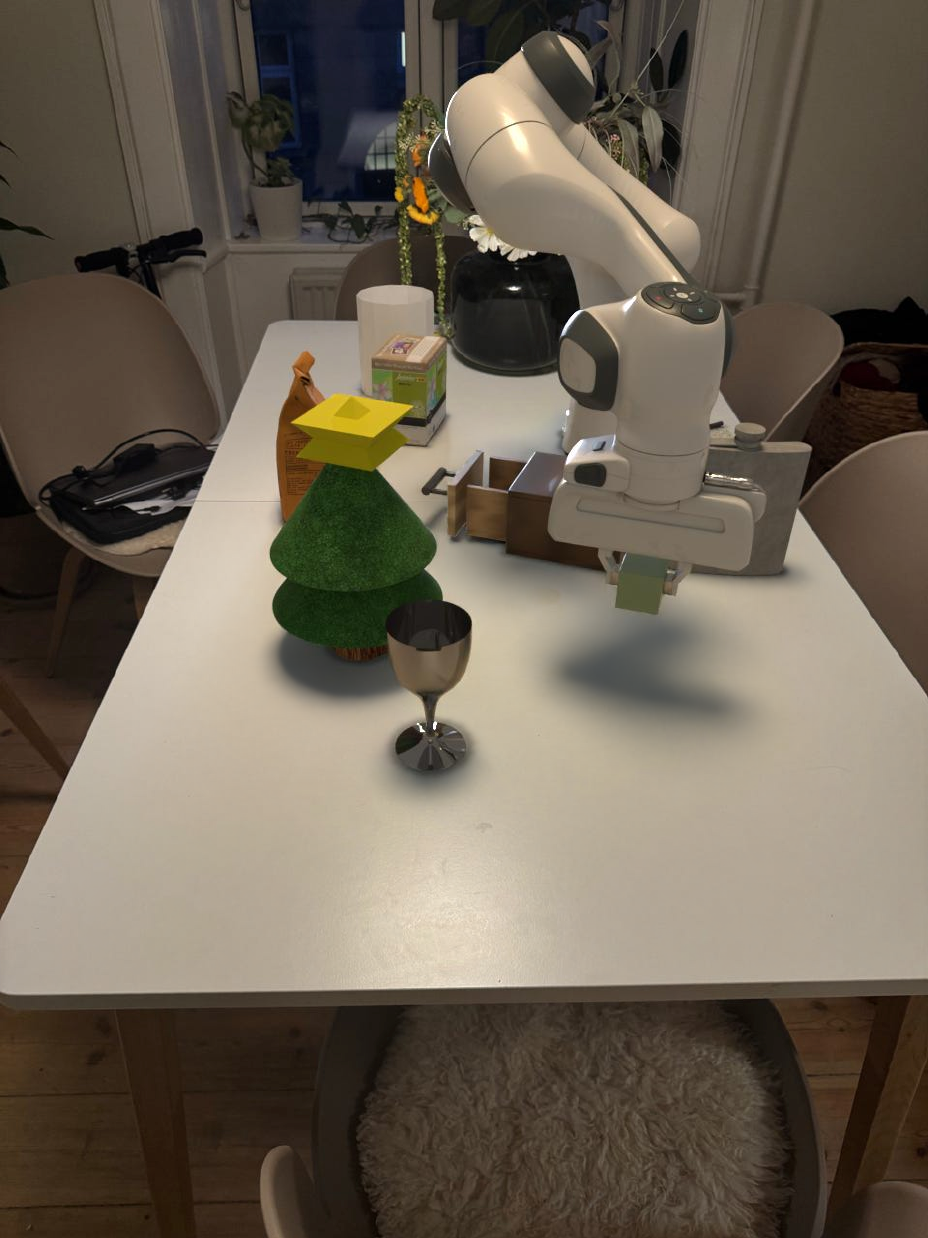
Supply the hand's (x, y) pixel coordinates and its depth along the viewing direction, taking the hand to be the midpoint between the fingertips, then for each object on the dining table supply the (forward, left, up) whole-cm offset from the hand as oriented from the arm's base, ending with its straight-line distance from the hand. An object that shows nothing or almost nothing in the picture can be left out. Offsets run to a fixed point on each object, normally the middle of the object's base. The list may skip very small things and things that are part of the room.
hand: (640, 587), depth 92 cm
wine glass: (+24, -5, -12) cm, 28 cm away
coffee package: (+4, -57, -12) cm, 59 cm away
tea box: (-26, -72, -12) cm, 77 cm away
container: (-37, -90, -12) cm, 98 cm away
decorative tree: (+19, -24, -12) cm, 33 cm away
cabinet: (-18, -25, -12) cm, 33 cm away
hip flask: (-28, -7, -12) cm, 31 cm away
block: (0, 0, -2) cm, 2 cm away
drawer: (-12, -35, -11) cm, 39 cm away
